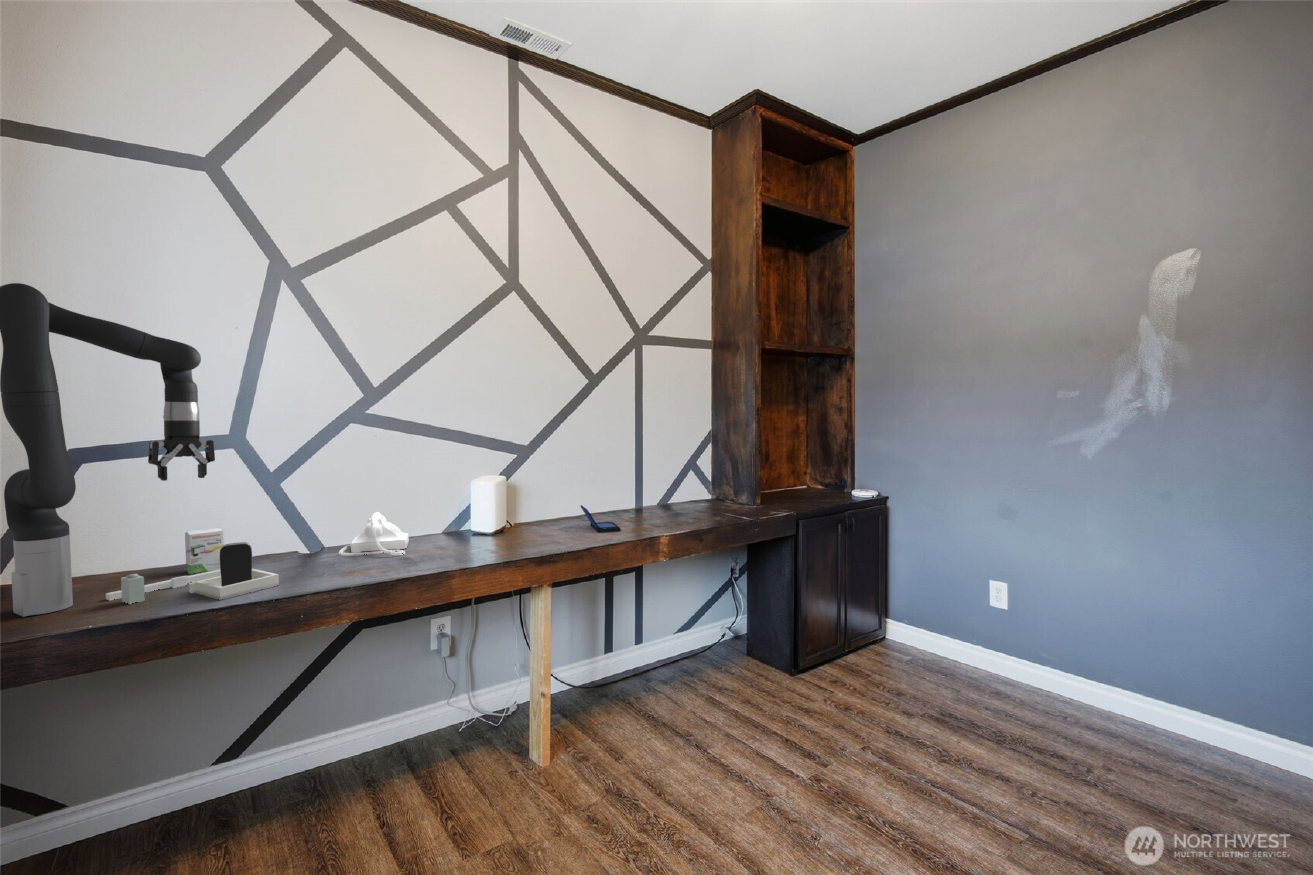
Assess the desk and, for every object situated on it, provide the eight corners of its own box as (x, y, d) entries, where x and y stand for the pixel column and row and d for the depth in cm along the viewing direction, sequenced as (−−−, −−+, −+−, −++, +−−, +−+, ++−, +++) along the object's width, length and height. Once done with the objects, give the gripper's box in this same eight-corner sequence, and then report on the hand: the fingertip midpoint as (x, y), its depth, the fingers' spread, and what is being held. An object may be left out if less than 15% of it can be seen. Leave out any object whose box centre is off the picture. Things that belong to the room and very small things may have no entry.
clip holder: (130, 607, 141) (129, 580, 141) (105, 599, 148) (104, 573, 147) (255, 578, 166) (254, 554, 166) (230, 572, 172) (229, 549, 172)
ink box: (189, 574, 170) (187, 533, 169) (185, 571, 173) (184, 531, 173) (225, 568, 176) (224, 529, 176) (221, 565, 180) (220, 527, 179)
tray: (220, 600, 147) (220, 588, 147) (195, 593, 152) (195, 581, 152) (278, 585, 159) (278, 574, 159) (253, 579, 165) (253, 568, 165)
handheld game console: (621, 532, 230) (621, 508, 229) (587, 534, 226) (586, 510, 225) (612, 524, 245) (612, 502, 244) (580, 526, 241) (579, 504, 240)
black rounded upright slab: (252, 582, 159) (251, 540, 159) (253, 585, 156) (251, 542, 156) (220, 586, 155) (219, 543, 155) (220, 590, 152) (218, 546, 152)
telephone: (404, 557, 191) (403, 518, 190) (331, 562, 184) (330, 522, 184) (410, 541, 215) (409, 506, 214) (346, 545, 208) (345, 510, 207)
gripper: (155, 419, 152) (157, 482, 153) (218, 419, 164) (220, 477, 165) (142, 419, 156) (144, 480, 156) (205, 419, 168) (206, 476, 169)
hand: (183, 479), depth 161 cm, fingers open, 8 cm apart
